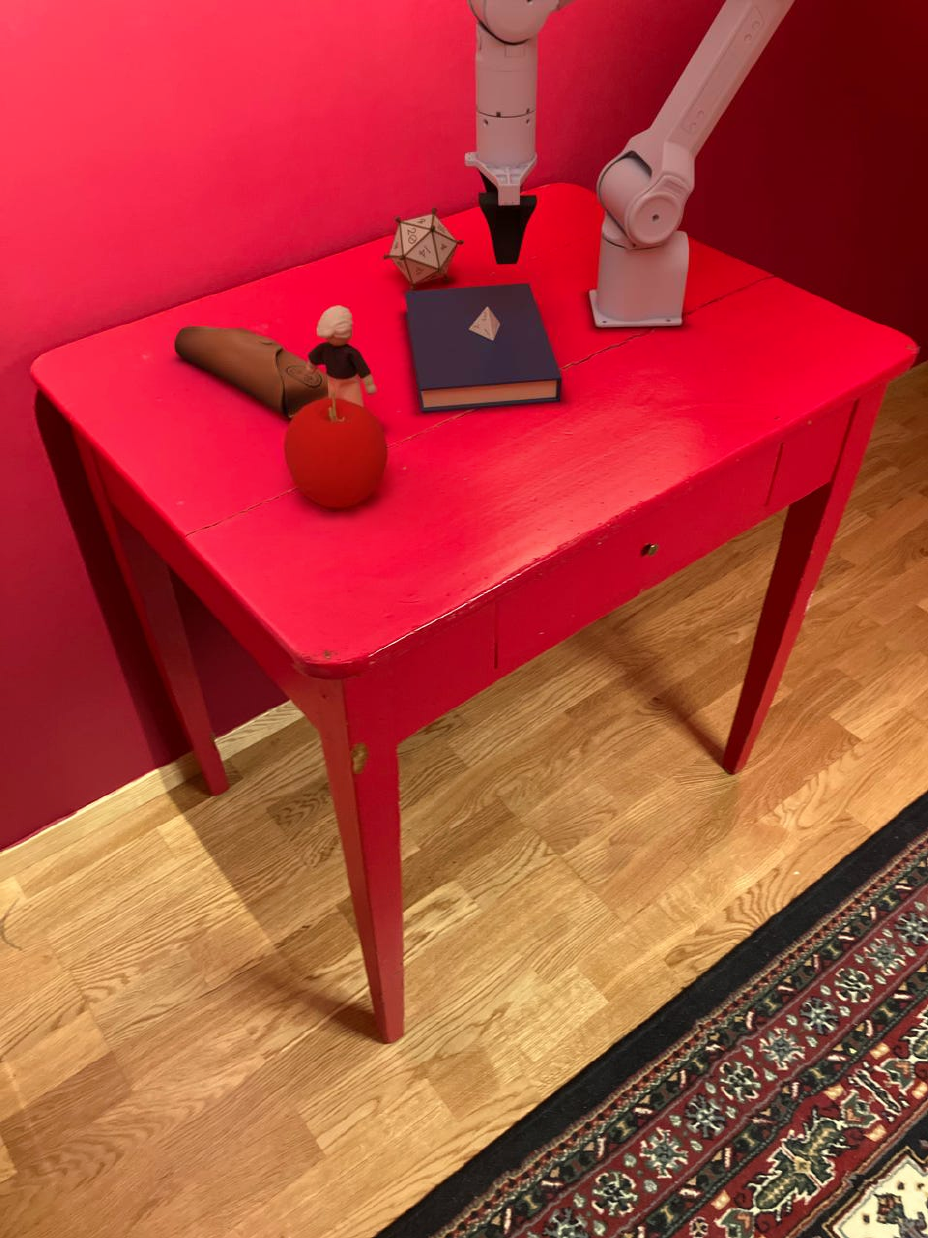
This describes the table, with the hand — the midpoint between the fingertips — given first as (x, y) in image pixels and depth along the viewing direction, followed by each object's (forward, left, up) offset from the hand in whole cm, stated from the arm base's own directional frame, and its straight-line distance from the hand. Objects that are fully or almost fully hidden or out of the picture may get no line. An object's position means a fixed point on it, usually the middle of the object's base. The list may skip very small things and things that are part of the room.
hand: (504, 245), depth 106 cm
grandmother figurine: (+16, +19, -10) cm, 26 cm away
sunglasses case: (+26, +9, -10) cm, 29 cm away
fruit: (+16, +29, -10) cm, 34 cm away
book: (+3, +6, -9) cm, 11 cm away
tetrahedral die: (+2, +5, -7) cm, 9 cm away
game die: (+9, -11, -10) cm, 17 cm away
